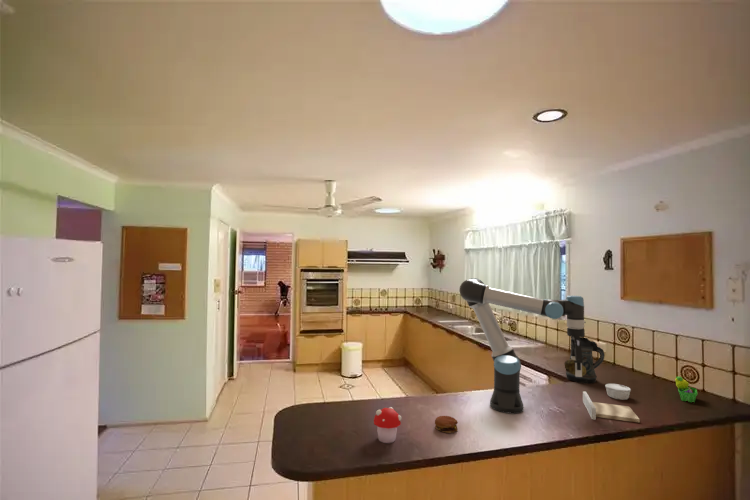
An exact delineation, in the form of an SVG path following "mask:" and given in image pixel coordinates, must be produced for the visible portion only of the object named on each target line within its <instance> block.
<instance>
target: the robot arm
mask: <svg viewBox="0 0 750 500" xmlns="http://www.w3.org/2000/svg"><path fill="white" fill-rule="evenodd" d="M459 295H460V297H461V298H462V299H463V300H464V301H466V302H467V304H468V308H470V309H473V312H474V313H475V316H476V319H477V320H478V322H479V324H480V327H481V329H482V331H483V333H484V335H485V336H484V337H485V338H486V340H487V342H488V345H489V347H490V349H491V351H492V352H491V358H492V360H493V368H494V369H493V391H492V394H491V397H490V400H489V401H490V402H489V406H490V408H491V409H493V410H494V411H497V412H500V413H506V414H520V413H522V412H523V411H524V403H523V402H524V401H523V399H522V396H521V393H520V389H521V387H520V386H521V385H520V384H521V383H520V379H521V378H520V375H521V369H522V363H521V360H520V358H519V357H518V355H517V354H516V352H515V350H514V348H513V347H512V346H509V343H508V342H507V340H506V338H505V335H504V333H503V331H502V329H501V326H500V324H499V322H498V320H497V318H496V316H495V314H494V312H493V309H492V308H491V305H496V306H500V307H503V308H509V309H512V310H513V309H514V310H518V311H522V312H527V313H531V314H535V315H539V316H544V317H548V318H549V319H552V320H558V319H560V318H561V317H562V316H566V327H567V328H566V335H567V336H568V337H570V355H571V359H573V360H576V361H574V363H575V376H576V377H582V362H583V361H582V350H581V341H580V339H579V337H583V338H585V335H586V334H585V333H586V332H585V324H586V321H585V302H584V297H583V296H581V295H567V296H566V298H565V299H555V298H554V299H553V298H552V299H551V298H538V297H535V296H529V295H525V294H521V293H516V292H511V291H507V290H502V289H497V288H492V287H489V285H488V284H485V283H484V282H483V281H482V280H481V279H479V278H474V277H473V278H469V279H465V280H463V281H462V283H461V284H460V286H459ZM490 304H491V305H490Z"/></svg>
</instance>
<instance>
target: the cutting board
mask: <svg viewBox="0 0 750 500" xmlns="http://www.w3.org/2000/svg"><path fill="white" fill-rule="evenodd" d="M592 403H593V405H594V406H595V408H596V418H603V419H609V420H617V421H624V422H633V423H640V421H641V420H640V417H639V416H638V415H637V413H635V412H634V411H633V409H632V408H631V407H630V406H628V405H619V404H613V403H606V402H605V403H604V402H596V401H592Z"/></svg>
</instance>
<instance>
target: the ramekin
mask: <svg viewBox="0 0 750 500" xmlns="http://www.w3.org/2000/svg"><path fill="white" fill-rule="evenodd" d="M604 387H605V389H606V394H607V396H608V397H610V398H612V399H614V400H623V401H625V400H628V399H629V398H630V394H631V391H632V389H631V388H630V387H629V386H626V385H623V384H618V383H606V384H605V385H604Z"/></svg>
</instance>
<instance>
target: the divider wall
mask: <svg viewBox="0 0 750 500" xmlns="http://www.w3.org/2000/svg"><path fill="white" fill-rule="evenodd" d="M592 402H593V401H592V399H591V398H590V396H589V394H588V393H587V391H582V403H583V405H584V406H585V408H586V410H587V412H588V414H589V416H590V418H591V420H593V421H594V420H595V421H596V419H597V417H596V408H595V406H594V405H593V403H592Z"/></svg>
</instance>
